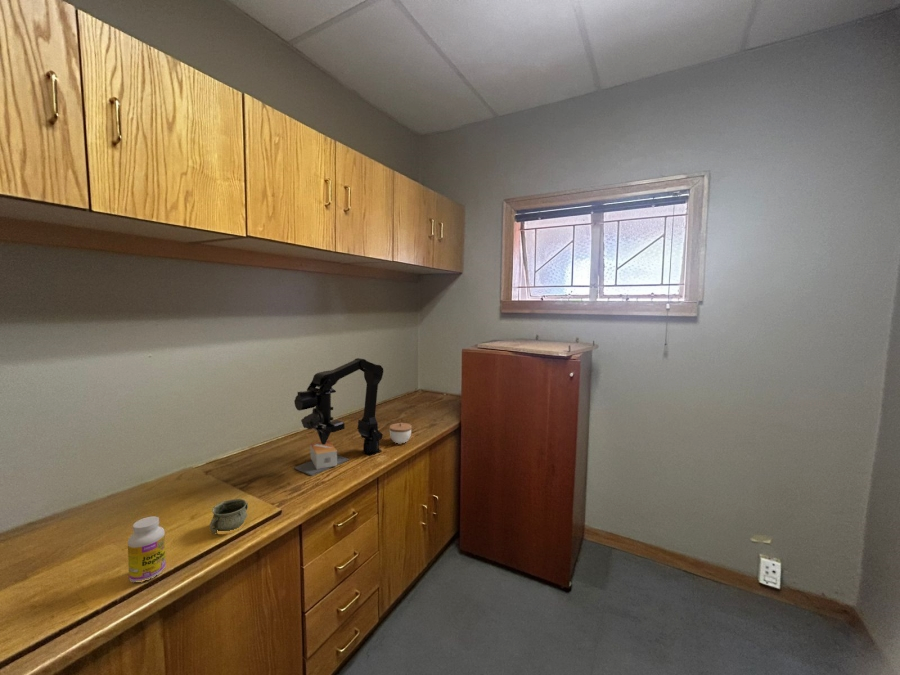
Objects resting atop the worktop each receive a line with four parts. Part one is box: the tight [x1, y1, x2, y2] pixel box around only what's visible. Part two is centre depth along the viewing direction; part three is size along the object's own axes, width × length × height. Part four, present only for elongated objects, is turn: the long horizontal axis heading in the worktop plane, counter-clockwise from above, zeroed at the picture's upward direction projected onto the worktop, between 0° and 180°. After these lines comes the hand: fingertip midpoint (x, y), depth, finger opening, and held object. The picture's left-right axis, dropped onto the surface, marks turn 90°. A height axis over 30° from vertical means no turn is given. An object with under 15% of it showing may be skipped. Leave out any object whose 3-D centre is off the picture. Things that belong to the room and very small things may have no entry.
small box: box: [310, 440, 338, 469], centre depth 147 cm, size 8×6×13 cm
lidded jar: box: [389, 422, 413, 445], centre depth 172 cm, size 11×11×9 cm
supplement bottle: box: [127, 516, 166, 583], centre depth 84 cm, size 7×7×13 cm
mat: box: [294, 454, 350, 477], centre depth 146 cm, size 18×11×1 cm, turn 146°
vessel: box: [209, 498, 249, 535], centre depth 103 cm, size 12×9×6 cm
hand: (323, 444), depth 140 cm, fingers closed
